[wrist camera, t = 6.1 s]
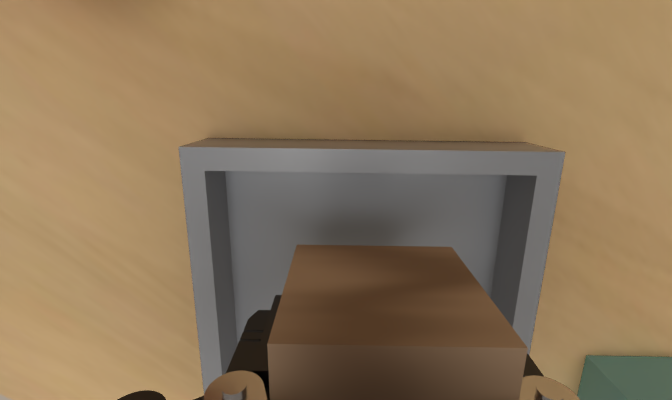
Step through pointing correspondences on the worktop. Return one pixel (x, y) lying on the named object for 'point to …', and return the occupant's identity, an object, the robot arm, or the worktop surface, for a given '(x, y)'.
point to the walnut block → (389, 329)
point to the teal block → (626, 378)
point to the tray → (360, 218)
